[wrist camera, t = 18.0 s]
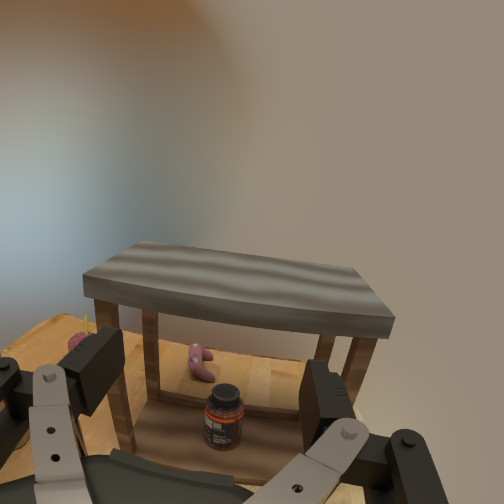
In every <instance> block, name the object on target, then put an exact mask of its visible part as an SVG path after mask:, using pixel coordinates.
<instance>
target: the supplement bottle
mask: <svg viewBox="0 0 504 504" xmlns="http://www.w3.org/2000/svg"><path fill="white" fill-rule="evenodd" d="M239 395H240V392H239V390H238V388H237V387H235V386H233V385H231V384H226V383H224V384H219V385H216V386H215V387H214V388H213V390H212V395H210V396H209V397H208V398H207V400H206V402H205V423H204V438H205V441H206V443H207V444H208V445H209V446H211V447H212V448H214V449H217V450H229V449H232V448H234V447H236V446H237V445H238V443H239V441H240V437H241V430H242V423H243V416H244V403H243V401H242V399H241V398H240V397H239Z"/></svg>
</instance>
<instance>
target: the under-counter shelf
mask: <svg viewBox="0 0 504 504" xmlns="http://www.w3.org/2000/svg"><path fill="white" fill-rule="evenodd" d="M83 289H84V296H85V297H89V298H93V299H94V305H95V315H96V326H97V333H98V332H99V331H100V330H101V329H102V328H103V327H104V326H109V327H114V328H118V329H120V327H119V313H118V304H120V305H124V306H129V307H134V308H139V309H142V326H143V348H144V363H145V376H146V387H147V397H148V400H147V402H146V404H145V406H144V408H143V410H142V412H141V414H140V416H139V418H138V420H137V422H136V424H135V426H134V428H133V425H132V420H131V414H130V409H129V403H128V397H127V390H126V383H125V376H124V368H123V370H122V372H121V374H120V375H119V376H118V378H117V379H116V381H115V382H114V384H113V385H112V386H111V388H110V389H109V391H108V392H107V396H108V401H109V405H110V410H111V414H112V418H113V423H114V427H115V431H116V434H117V438H118V442H119V445H120V449H121V451H124V452H127V453H130V454H133V455H137V456H140V457H142V458H144V459H146V460H148V461H150V462H152V463H154V464H156V465H158V466H160V467H162V468H164V469H167V470H170V471H205V472H211V473H218V474H225V475H232V476H234V479H233V483H236V484H245V485H255V486H264V485H265V484H266V483H268V482H269V481H270V480H271V479H272V478H273V477H274V476H275V475H277V474H278V473H279V472H280V471H281V470H282V469H283V468H284V467H285V466H286V465H287V464H288V463H289V462H290V461H291V460H292V459H293V458H295V457H296V456H297V455H298V454H299V453H301V452H302V453H304V446H303V436H302V427H301V417H300V409H299V410H294V409H280V408H269V407H259V406H250V405H244V416H243V423H242V430H241V437H240V441H239V443H238V445H237V446H236V447H234V448H232V449H229V450H217V449H214V448H212V447H211V446H209V445H208V444H207V443H206V441H205V438H204V423H205V402H206V400H207V399H203V398H197V397H192V396H187V395H182V394H177V393H172V392H167V391H163V390H160V373H159V348H158V312H160V313H166V314H171V315H176V316H182V317H188V318H194V319H201V320H206V321H213V322H220V323H227V324H234V325H241V326H249V327H256V328H264V329H272V330H281V331H290V332H300V333H310V334H320V336H319V340H318V344H317V349H316V353H315V356H314V360H325V361H326V362H327V365H328V362H329V359H330V355H331V352H332V348H333V345H334V341H335V337H336V336H347V337H353V339H352V342H351V346H350V349H349V352H348V356H347V359H346V362H345V365H344V368H343V371H342V374H341V378H342V379H343V380H344V383H345V386H346V390H347V392H348V395H349V396H348V397H349V398H350V401H351V404H352V407H353V404H354V402H355V399H356V397H357V395H358V392H359V389H360V387H361V384H362V382H363V379H364V376H365V374H366V371H367V368H368V365H369V363H370V360H371V357H372V354H373V351H374V348H375V345H376V342H377V339H378V338H380V339H389V336H390V333H391V330H392V327H393V323H394V320H395V316H394V315H393V314H392V312H391V311H390V310H389V309H388V308H387V307H386V305H385V304H384V303H383V302H382V301H381V299H380V298H379V297H378V296H377V295H376V294H375V292H374V291H373V290H372V289H371V288H370V287H369V285H368V284H367V283H366V282H365V281H364V280H363V279H362V277H361V276H360V275H359V274H358V273H357V272H356V271H355V270H354V269H353V268H348V267H341V266H333V265H325V264H318V263H310V262H302V261H294V260H287V259H279V258H270V257H263V256H256V255H248V254H241V253H233V252H225V251H217V250H210V249H202V248H195V247H187V246H179V245H172V244H164V243H157V242H149V241H141V242H139V243H137V244H136V245H134V246H132V247H130V248H128V249H126V250H125V251H123V252H121V253H119V254H117V255H116V256H114V257H112V258H110V259H108V260H107V261H105V262H103V263H101V264H100V265H98V266H96V267H95V268H93V269H91V270H89V271H87V272H86V273H84V274H83Z"/></svg>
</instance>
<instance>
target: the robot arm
mask: <svg viewBox="0 0 504 504" xmlns="http://www.w3.org/2000/svg"><path fill="white" fill-rule="evenodd" d="M124 364H125V354H124V343H123V333H122V330H121V329H118V328H114V327H109V326H104V327H103V328H102V329H101V330H100V331H99V332H98V333H97V334H94V333H93V334H91V335H89V336H87V337H85V338H83V339H82V340H81V341H80V342H79V343H78V345H76V346H75V347H74V348H73V350H71V351H70V352H69V353H68V354H67V355H66V356H65V357H64V358H63V359H62V360H61V361H60V362H59V363H58V364H57V365H54V364H46V365H42V366H40V367H38V368H37V369H36V370H35V371H34V372H29V371H23V370H20V369H19V365H18V363H17V361H16V360H15V359H13V358H10V357H3V358H2V356H1V353H0V470H1V468H2V467H3V465H4V464H5V462H6V461H7V459H8V458H9V456H10V455H11V453H12V452H13V450H15V449H18V448H20V447H22V446H23V445H24V444H25V443H26V442H27V440H28V438H29V435H30V439H31V449H32V458H33V466H34V472H35V474H34V475H30V476H27V477H24V478H21V479H17V480H14V481H10V482H6V483H3V484H0V504H325V503H326V502H327V500H328V499H329V498H330V497H331V496H332V494H333V493H334V492H335V490H336V489H337V488H338V487H339V485H340V484H341V483H346V484H351V485H356V486H362V487H363V490H364V496H365V503H366V504H449V503H448V500H447V497H446V495H445V492H444V489H443V486H442V484H441V481H440V478H439V476H438V473H437V470H436V468H435V465H434V463H433V460H432V457H431V455H430V452H429V450H428V448H427V445H426V443H425V440H424V438H423V437H422V436H421V435H420V434H419V433H417V432H415V431H413V430H409V429H400V430H397V431H395V432H394V433H393V434H392V436H391V438H389V437H384V436H379V435H374V434H371V433H369V431H368V428H367V427H366V426H365V425H364V424H363V423H362V422H360V421H358V420H356V417H355V413H354V410H353V407H352V404H351V401H350V398H349V397H348V396H349V395H348V392H347V390H346V386H345V383H344V380H343V379H342V378H341V377H340V376H339V375H338V374H337V373H333V372H329V369H328V365H327V362H326V361H325V360H311V359H309V360H308V361H307V363H306V367H305V371H304V375H303V378H302V382H301V386H300V390H299V408H300V417H301V427H302V436H303V446H304V453H302V452H301V453H299V454H298V455H297V456H296V457H295V458H293V459H292V460H291V461H290V462H289V463H288V464H287V465H286V466H285V467H284V468H283V469H282V470H281V471H280V472H279V473H278V474H277V475H275V476H274V477H273V478H272V479H271V480H270V481H269V482H268V483H266V484H265V485H264V486H263V487H262V488H261V489H260V490H258V491H257V492H256V493H255V494H254V493H253V492H251V491H249V490H247V489H246V488H243V487H241V486H239V485H236V484H233V479H234V476H232V475H225V474H218V473H211V472H205V471H170V470H167V469H164V468H162V467H160V466H158V465H156V464H154V463H152V462H150V461H148V460H146V459H144V458H142V457H140V456H137V455H133V454H130V453H127V452H124V451H121V450H118V449H115V448H113V450H112V451H111V453H110V455H91V456H88V454H87V450H86V447H85V443H84V439H83V435H82V431H81V427H80V423H79V419H78V417H79V415H80V414H84V415H87V416H89V417H91V416H92V414H93V413H94V411H95V410H96V408H97V407H98V405H99V404H100V402H101V401H102V399H103V398H104V397H105V395H106V394H107V392H108V391H109V389H110V388H111V386H112V385H113V384H114V382H115V381H116V379H117V378H118V376H119V375H120V374H121V372H122V370H123V368H124ZM29 428H30V429H29Z"/></svg>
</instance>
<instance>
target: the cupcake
mask: <svg viewBox="0 0 504 504" xmlns="http://www.w3.org/2000/svg"><path fill="white" fill-rule="evenodd" d="M84 317H85V332H82V333H81V332H80V333H77V334H75V335H74V336H73V337H72V338H71V339H70V340H69V342H68V350H69V352H70V351H71V350H73V348H74V347H75V346H76V345H78V343H79V342H80V341H81V340H82V339H83V338H85V337H87V336H89V335H91V334H93V333H91V332H88V324H87V315H86V313H85V316H84Z"/></svg>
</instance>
